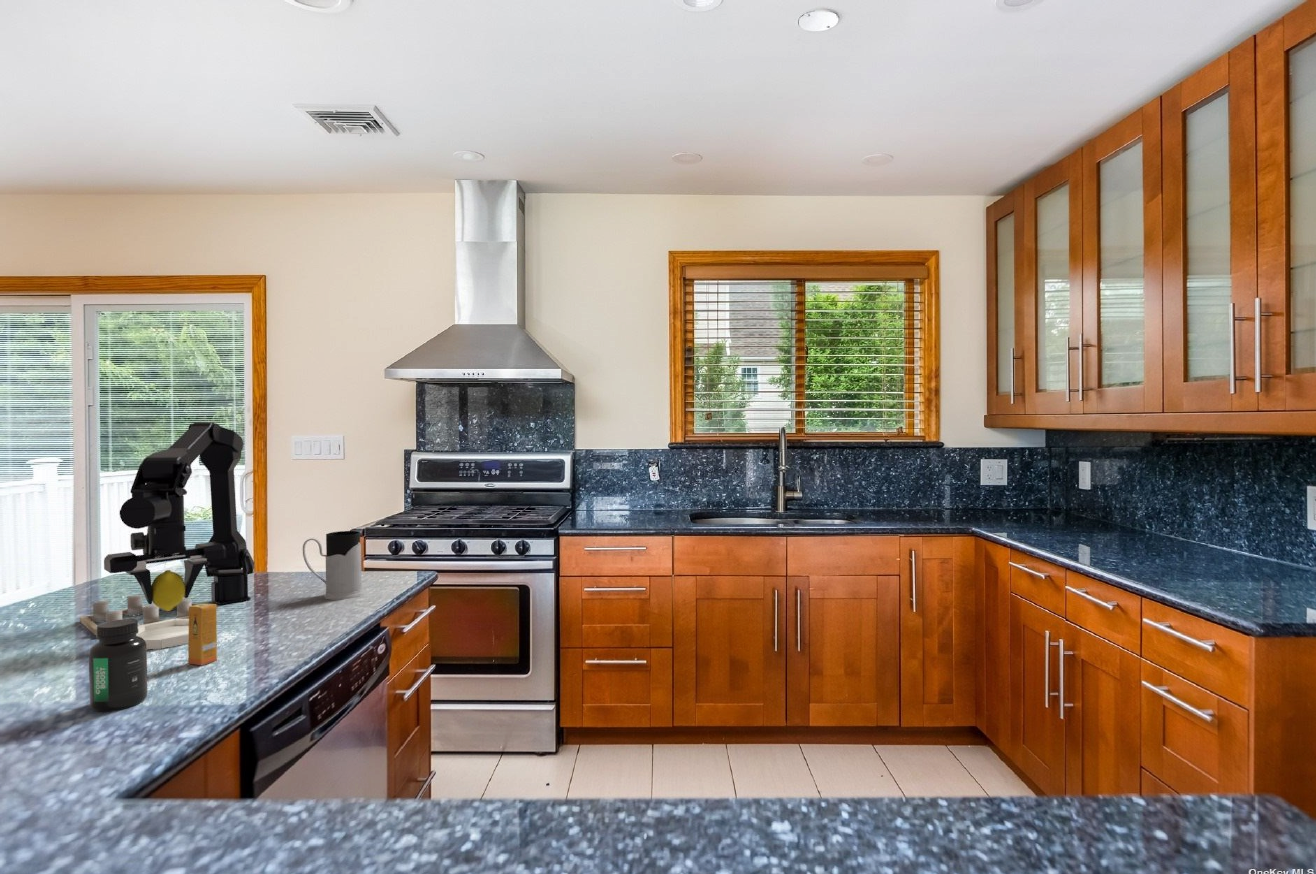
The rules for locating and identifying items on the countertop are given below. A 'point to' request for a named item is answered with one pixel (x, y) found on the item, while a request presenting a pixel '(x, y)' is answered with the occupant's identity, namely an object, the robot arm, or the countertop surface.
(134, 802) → the countertop surface
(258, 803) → the countertop surface
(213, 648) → the supplement box
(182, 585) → the lemon
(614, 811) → the countertop surface
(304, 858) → the countertop surface
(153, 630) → the dish
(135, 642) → the supplement bottle
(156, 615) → the spacer field
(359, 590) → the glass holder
